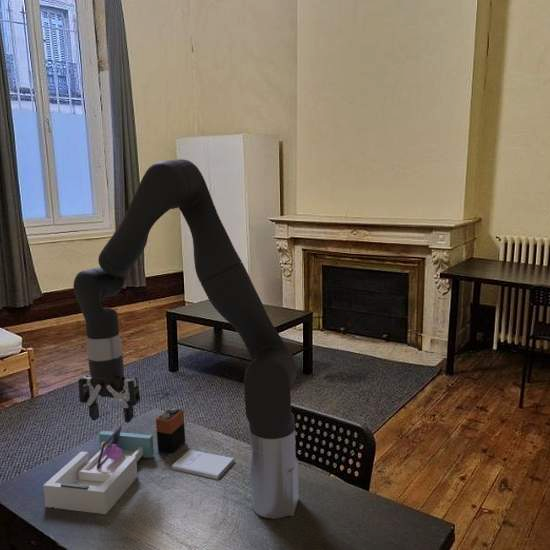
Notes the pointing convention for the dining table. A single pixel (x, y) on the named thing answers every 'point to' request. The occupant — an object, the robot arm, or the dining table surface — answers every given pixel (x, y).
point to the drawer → (130, 446)
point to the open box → (88, 487)
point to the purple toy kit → (111, 448)
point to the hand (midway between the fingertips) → (111, 420)
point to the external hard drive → (203, 464)
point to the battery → (170, 430)
